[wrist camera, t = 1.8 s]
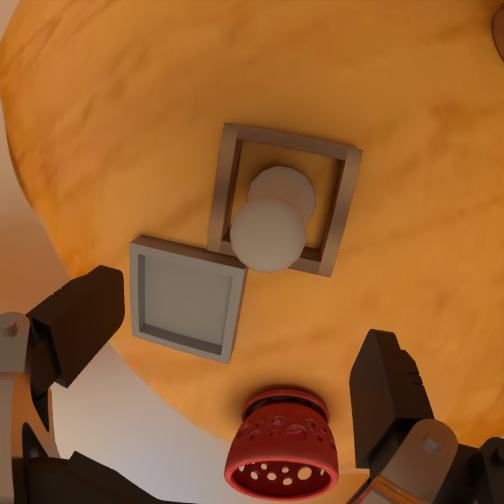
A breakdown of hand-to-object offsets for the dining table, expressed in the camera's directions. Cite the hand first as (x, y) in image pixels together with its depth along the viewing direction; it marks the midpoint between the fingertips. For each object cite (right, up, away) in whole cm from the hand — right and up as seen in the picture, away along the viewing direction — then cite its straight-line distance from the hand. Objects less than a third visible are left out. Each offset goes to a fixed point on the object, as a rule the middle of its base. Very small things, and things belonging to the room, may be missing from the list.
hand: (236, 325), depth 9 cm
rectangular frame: (+3, +7, +19) cm, 21 cm away
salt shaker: (+3, +8, +19) cm, 21 cm away
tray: (-7, -3, +25) cm, 26 cm away
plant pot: (+6, -19, +29) cm, 36 cm away
